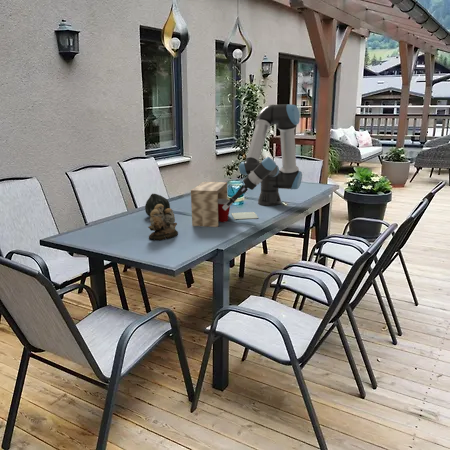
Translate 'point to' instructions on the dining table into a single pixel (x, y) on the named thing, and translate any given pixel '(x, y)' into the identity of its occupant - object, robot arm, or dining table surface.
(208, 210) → the oak cabinet
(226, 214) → the plastic cup
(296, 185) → the robot arm
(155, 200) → the squash
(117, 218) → the dining table surface
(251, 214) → the mat
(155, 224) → the owl figurine
